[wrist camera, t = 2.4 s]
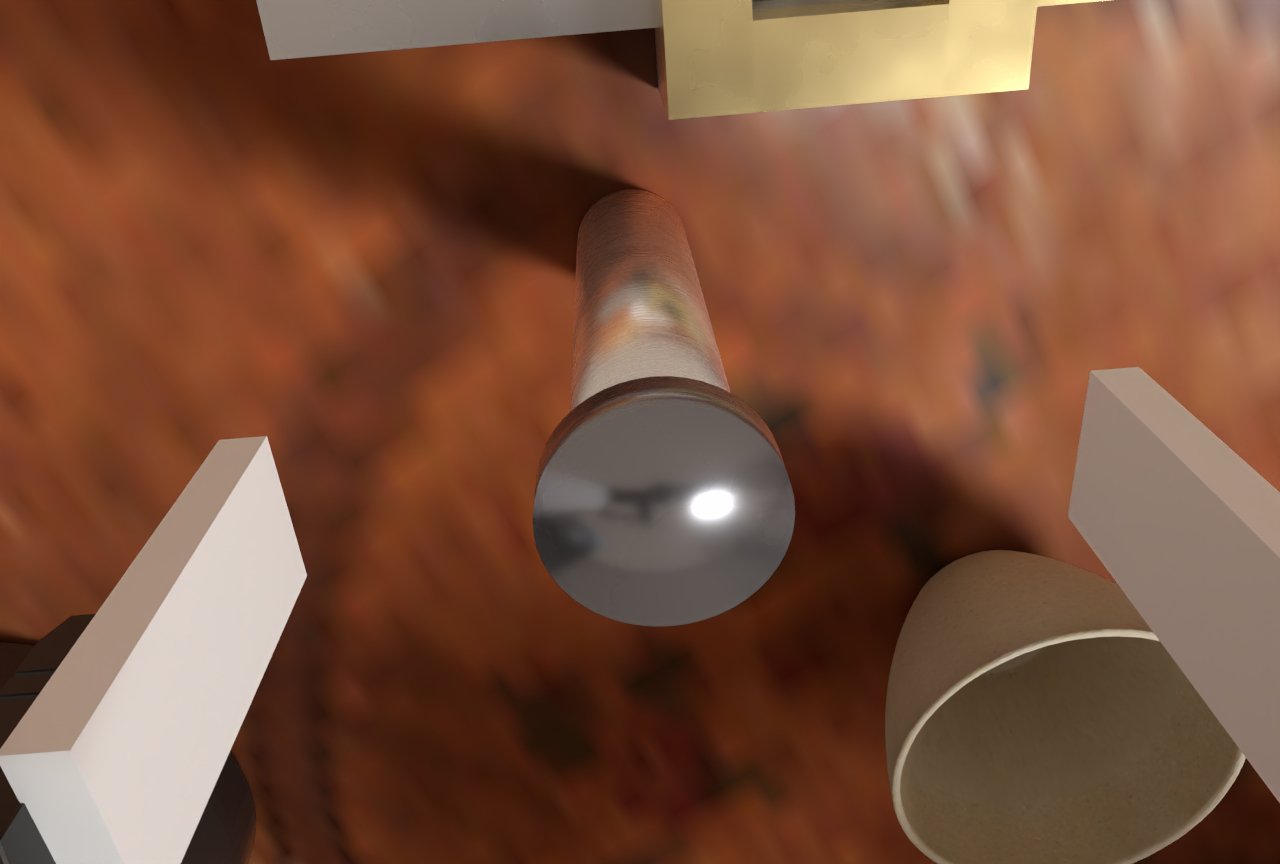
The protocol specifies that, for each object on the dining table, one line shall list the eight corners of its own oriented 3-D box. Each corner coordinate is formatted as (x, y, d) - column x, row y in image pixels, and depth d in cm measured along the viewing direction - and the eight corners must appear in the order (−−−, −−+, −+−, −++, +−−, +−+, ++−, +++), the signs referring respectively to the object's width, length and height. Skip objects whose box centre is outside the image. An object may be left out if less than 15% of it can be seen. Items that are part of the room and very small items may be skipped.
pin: (567, 316, 28) (549, 636, 16) (551, 176, 27) (516, 417, 14) (706, 304, 28) (794, 615, 16) (700, 164, 27) (795, 393, 14)
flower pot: (800, 548, 33) (851, 703, 26) (1104, 442, 31) (1234, 580, 25) (881, 751, 37) (940, 925, 31) (1149, 667, 36) (1268, 832, 29)
